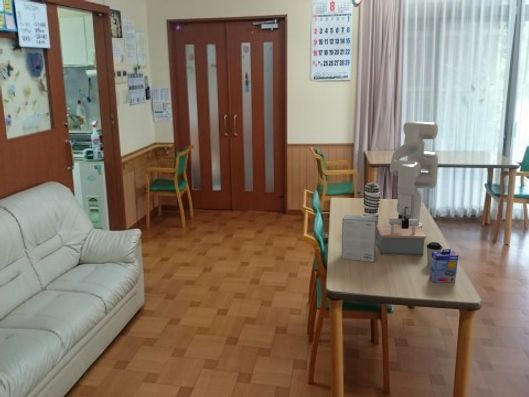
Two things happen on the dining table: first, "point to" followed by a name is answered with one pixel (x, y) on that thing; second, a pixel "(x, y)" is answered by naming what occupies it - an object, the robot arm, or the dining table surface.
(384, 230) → the flap
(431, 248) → the coffee cup
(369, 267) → the dining table surface
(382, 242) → the box
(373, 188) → the decorative candle
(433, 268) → the ink cartridge box
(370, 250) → the hard drive box
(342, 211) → the dining table surface
